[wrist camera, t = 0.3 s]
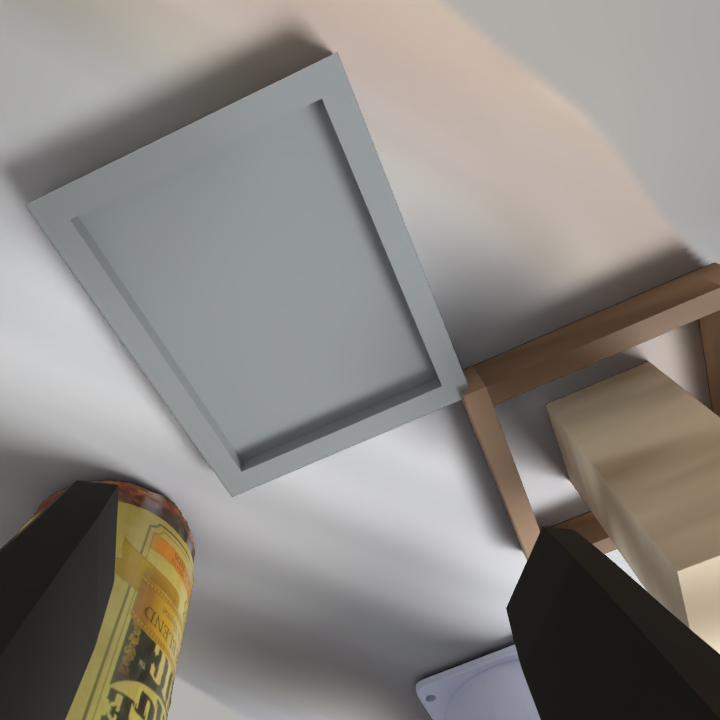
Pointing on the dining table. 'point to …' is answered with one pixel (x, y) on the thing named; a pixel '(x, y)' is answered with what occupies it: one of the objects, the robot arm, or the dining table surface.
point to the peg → (651, 484)
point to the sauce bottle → (139, 611)
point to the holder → (572, 352)
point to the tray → (263, 279)
